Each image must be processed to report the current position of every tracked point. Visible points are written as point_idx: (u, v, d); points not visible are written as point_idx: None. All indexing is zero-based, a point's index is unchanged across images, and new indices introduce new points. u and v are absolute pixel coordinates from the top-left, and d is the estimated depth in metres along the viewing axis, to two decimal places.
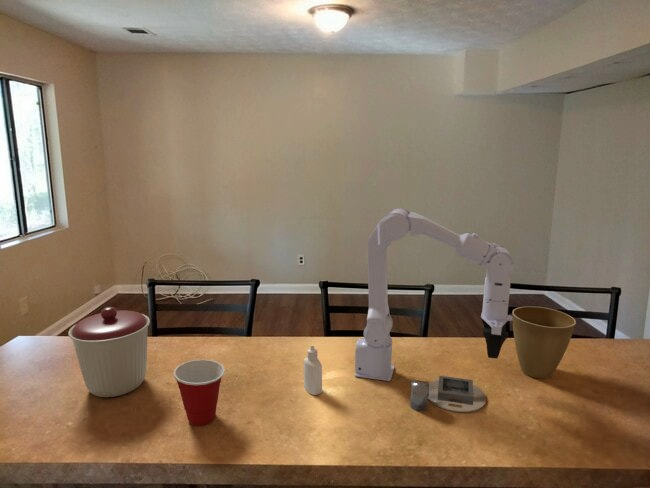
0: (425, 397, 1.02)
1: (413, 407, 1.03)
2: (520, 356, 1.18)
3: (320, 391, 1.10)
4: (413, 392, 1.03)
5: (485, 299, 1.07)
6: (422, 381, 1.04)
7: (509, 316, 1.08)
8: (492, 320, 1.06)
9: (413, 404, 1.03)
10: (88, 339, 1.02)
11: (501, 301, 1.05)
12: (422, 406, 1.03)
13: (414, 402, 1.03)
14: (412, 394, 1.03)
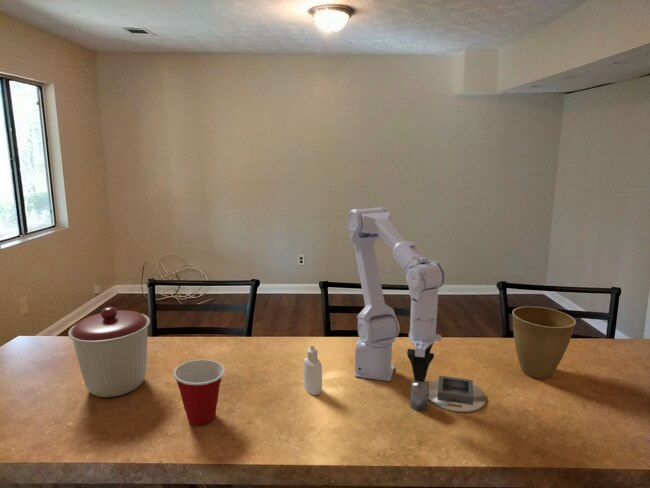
0: (425, 397, 1.02)
1: (413, 407, 1.03)
2: (520, 356, 1.18)
3: (320, 391, 1.10)
4: (413, 392, 1.03)
5: (411, 317, 0.99)
6: None
7: (438, 336, 1.00)
8: (418, 340, 0.98)
9: (413, 404, 1.03)
10: (88, 339, 1.02)
11: (427, 320, 0.97)
12: (422, 406, 1.03)
13: (414, 402, 1.03)
14: (412, 394, 1.03)
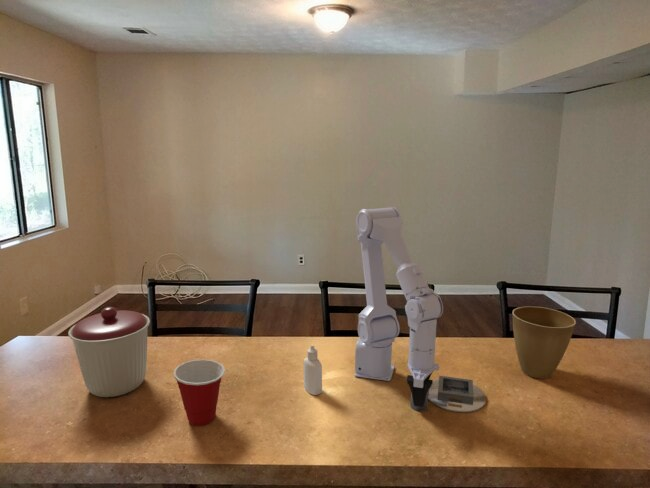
0: None
1: (413, 407, 1.03)
2: (520, 356, 1.18)
3: (320, 391, 1.10)
4: None
5: (410, 347, 1.01)
6: None
7: (436, 365, 1.02)
8: (417, 370, 1.00)
9: (413, 404, 1.03)
10: (88, 339, 1.02)
11: (425, 350, 0.99)
12: None
13: None
14: None
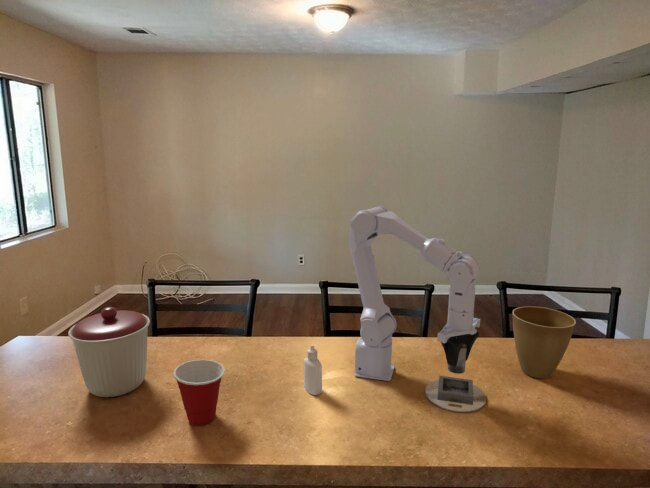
0: (460, 360, 1.05)
1: (448, 368, 1.07)
2: (520, 356, 1.18)
3: (320, 391, 1.10)
4: None
5: (448, 307, 1.05)
6: None
7: (473, 330, 1.03)
8: (449, 329, 1.04)
9: (448, 365, 1.07)
10: (88, 339, 1.02)
11: (458, 311, 1.02)
12: (456, 368, 1.06)
13: None
14: None
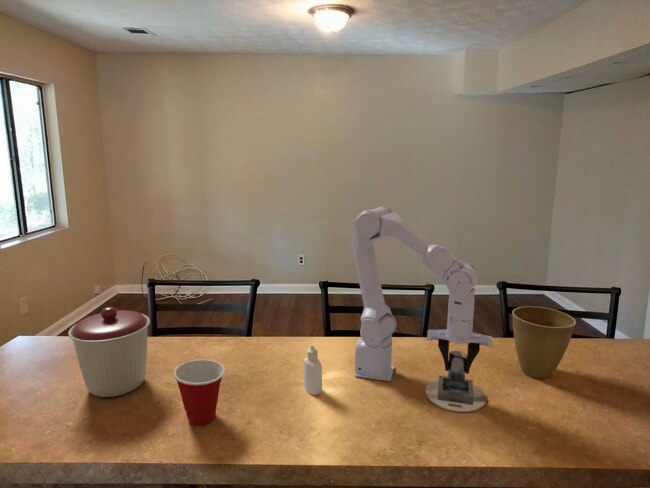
0: (451, 366, 1.06)
1: None
2: (520, 356, 1.18)
3: (320, 391, 1.10)
4: None
5: None
6: (461, 355, 1.06)
7: (460, 340, 1.02)
8: (446, 332, 1.07)
9: None
10: (88, 339, 1.02)
11: (448, 316, 1.04)
12: (449, 374, 1.07)
13: None
14: None
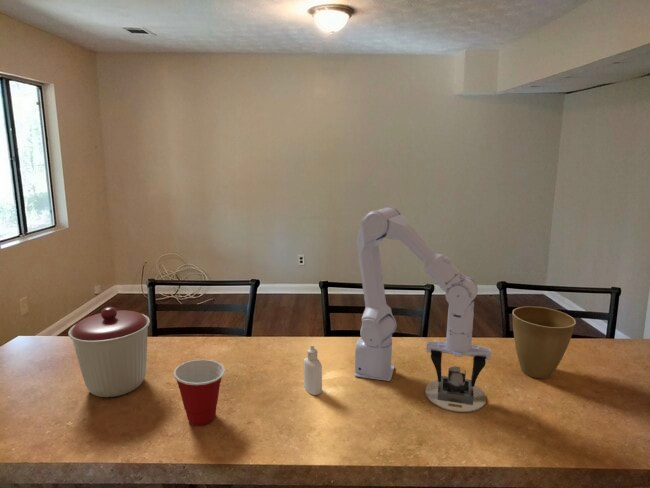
0: (450, 382, 1.07)
1: None
2: (520, 356, 1.18)
3: (320, 391, 1.10)
4: None
5: None
6: (460, 371, 1.07)
7: (459, 353, 1.03)
8: (445, 345, 1.08)
9: None
10: (88, 339, 1.02)
11: (447, 329, 1.05)
12: (448, 389, 1.08)
13: None
14: None
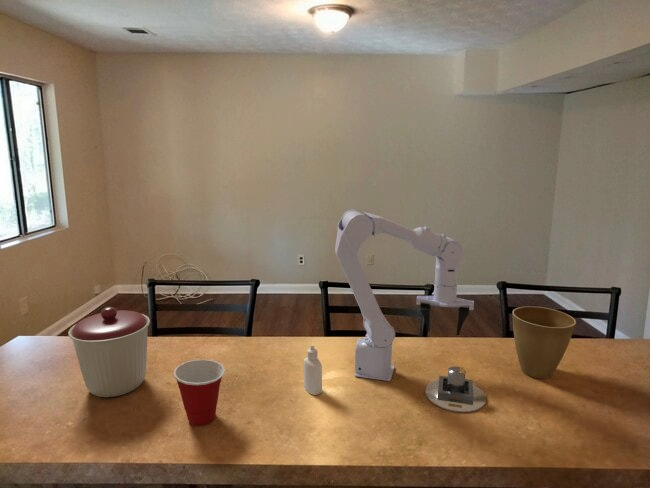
0: (450, 382, 1.07)
1: None
2: (520, 356, 1.18)
3: (320, 391, 1.10)
4: None
5: None
6: (460, 371, 1.07)
7: (445, 303, 1.15)
8: (433, 298, 1.20)
9: None
10: (88, 339, 1.02)
11: (435, 283, 1.17)
12: (448, 389, 1.08)
13: None
14: None
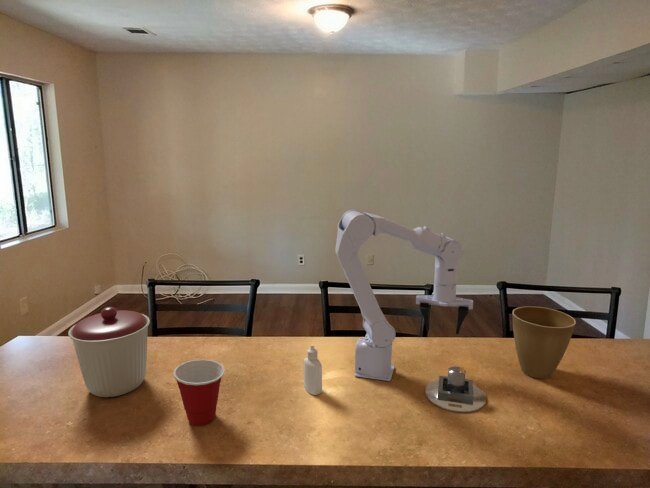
0: (450, 382, 1.07)
1: None
2: (520, 356, 1.18)
3: (320, 391, 1.10)
4: None
5: None
6: (460, 371, 1.07)
7: (444, 303, 1.16)
8: None
9: None
10: (88, 339, 1.02)
11: (434, 282, 1.18)
12: (448, 389, 1.08)
13: None
14: None
